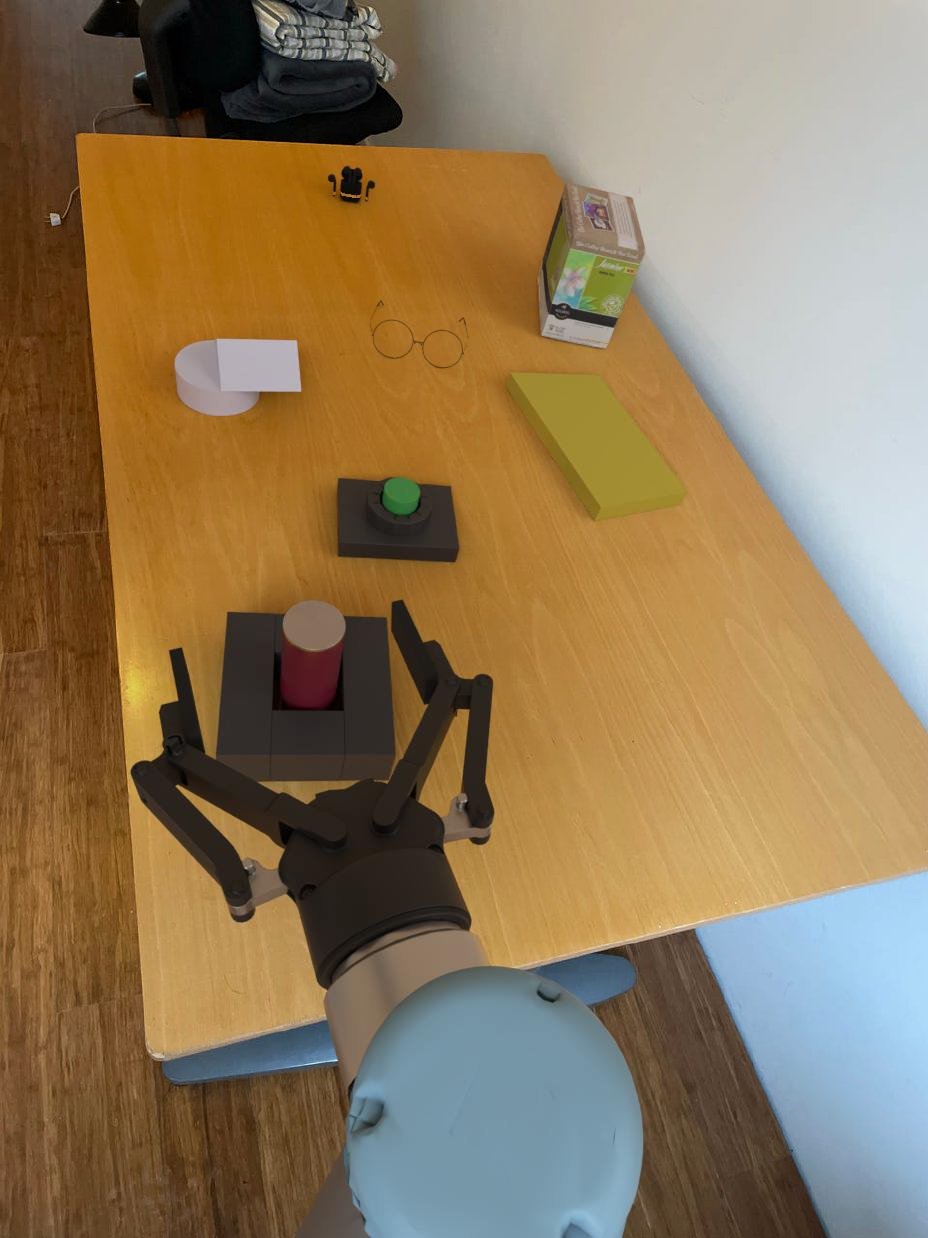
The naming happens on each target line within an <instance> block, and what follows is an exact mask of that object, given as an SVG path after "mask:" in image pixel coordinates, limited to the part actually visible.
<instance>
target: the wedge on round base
mask: <svg viewBox="0 0 928 1238" xmlns="http://www.w3.org/2000/svg"><path fill="white" fill-rule="evenodd" d="M298 347H299V346H298V340H297V339H296V340H295V339H292V340H291V339H256V338H255V339H249V338H247V339H246V338H215V339H211V340H202V341H201V340H200V341H197V342H193V343H190V344H188V345H186V346H185V347H183V348H181V350H180V351H178V353H177V354H176V356H175V358H174V373H175V374H174V375H175V384H176V392H177V396H178V398H179V399H180V401H181V402H182V403H183V404H184V405H186V407H188V408H189V409H191V410H193V411H196V412H197V413H200V414H203V415H208V416H213V417H229V416H235V415H239V414H242V413H245V412H247V411H249V410H250V409H252V408H253V407H254V406H255V405H256V404H257V403H258V401H259V398H260V396H261V392H277V393H278V392H279V393H280V392H282V393H283V392H287V393H288V392H289V393H290V392H293V393H294V392H298V393H301V392H302V384H301V371H300V360H299V348H298Z"/></svg>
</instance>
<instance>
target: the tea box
mask: <svg viewBox="0 0 928 1238" xmlns="http://www.w3.org/2000/svg"><path fill="white" fill-rule="evenodd" d="M558 203H559V204H558V208H557V211H556V214H555V217H554V221H553V224H552V227H551V230H550V234H549V237H548V241H547V244H546V247H545V251H544V254H543V256H542V257H543V258H542V260H541V263H540V266H539V270H538V274H539V285H538V276H537V277H536V286H537V299H538V314H539V316H538V317H539V328H540V336H542V337H545V338H550V339H553V340H558V341H564V342H568V343H573V344H578V345H584V346H589V347H593V348H598V349H599V348H600V349H606V348H607V347H608V346H609V344H610V341H611V339H612V337H613V334H614V331H615V328H616V326H617V323H618V321H619V319H620V316H621V313H622V311H623V309H624V306H625V303H626V301H627V298H628V297H629V294H630V291H631V289H632V287H633V283H634V281H635V278H636V276H637V274H638V272H639V269H640V267H641V264H642V262H643V259H644V256H645V253H646V246H645V242H644V237H643V234H642V229H641V226H640V222H639V218H638V214H637V210H636V207H635V204H634V198H633V197H631V196H628V195H623V194H619V193H615V192H612V191H611V192H610V191H607V190H603V189H597V188H593V187H588V186H584V185H581V184H576V183H571V182H565V185H564V187H563V191H562V194H561V197H560V200H559V202H558ZM539 286H540V302H539ZM540 310H541V317H540ZM541 327H542V329H541ZM546 332H547V333H546ZM557 334H558V335H557ZM579 338H580V339H579ZM583 339H585V340H583ZM586 339H589V340H591V341H589V340H586ZM592 340H594V341H598V342H594V341H592ZM599 341H600V342H604V343H608V344H604V343H599Z"/></svg>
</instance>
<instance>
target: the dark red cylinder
mask: <svg viewBox="0 0 928 1238" xmlns="http://www.w3.org/2000/svg"><path fill="white" fill-rule="evenodd" d="M284 614H285V616H284V619H283V630H282V654H281V677H280V681H279V700H278V701H279V702H278V703H279V705H278V710H299V711H335V704H336V697H337V692H338V691H337V690H338V677H339V670H340V663H341V656H342V649H343V642H344V636H345V628H346V624H345V620H344V617H343V616H344V615H343V614H342V612H341V611H340V610H339V609H338V608H337V607H336V606H334V605H332V604H330V603H329V602H326V601H323V600H315V599H310V600H304V601H301V602H298V603H296V604H294V605H293V606H291V607H290V608H289V609H288V610H287V611H286V612H285V613H284Z"/></svg>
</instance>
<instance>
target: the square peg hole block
mask: <svg viewBox="0 0 928 1238" xmlns="http://www.w3.org/2000/svg"><path fill="white" fill-rule="evenodd" d="M285 614H286V613H273V612H247V611H245V612H244V611H227V613H226V623H225V624H226V625H225V637H224V646H223V647H224V648H223V649H224V650H223V660H222V661H223V663H222V672H221V673H222V674H221V685H220V686H221V687H220V698H219V699H220V700H219V712H218V723H217V726H218V727H217V734H216V735H217V736H216V749H215V750H216V751H215V759H216V760H217V761H219V762H221V763H223V764H225V765H227V766H228V767H230V768H232V769H234V770H236V771H238V772H239V773H241V774H243V775H245V776H247V777H249V778H250V779H252V780H254V781H256V782H258V783H267V782H268V783H269V782H340V781H341V782H344V781H345V782H347V781H350V782H351V781H353V782H354V781H362V780H366V779H369V778H373V779H374V781H389V780H390V778H391V775H392V774H391V773H392V770H393V765H394V763H395V759H396V756H397V751H396V735H395V721H394V705H393V704H394V703H393V702H394V701H393V689H392V674H391V659H390V658H391V657H390V643H389V628H388V627H389V626H388V617H386V616H364V615H363V616H361V615H360V616H359V615H343V617H344V620H345V624H346V628H345V636H344V642H343V649H342V656H341V663H340V670H339V677H338V684H337V690H338V710H334V711H299V710H279V709H278V710H277V709H275V710H274V709H273V704H274V681H279V682H280V677H281V654H282V630H283V619H284V616H285Z"/></svg>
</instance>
